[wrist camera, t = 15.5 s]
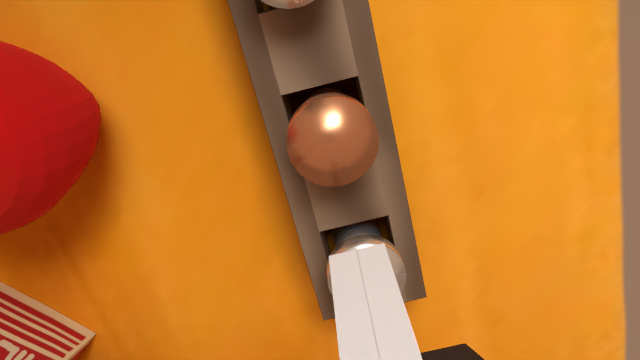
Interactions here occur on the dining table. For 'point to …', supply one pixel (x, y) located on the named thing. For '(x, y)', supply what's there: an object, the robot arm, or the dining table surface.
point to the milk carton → (37, 330)
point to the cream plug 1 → (287, 3)
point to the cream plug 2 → (364, 237)
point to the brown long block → (271, 90)
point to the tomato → (40, 134)
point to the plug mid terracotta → (332, 138)
